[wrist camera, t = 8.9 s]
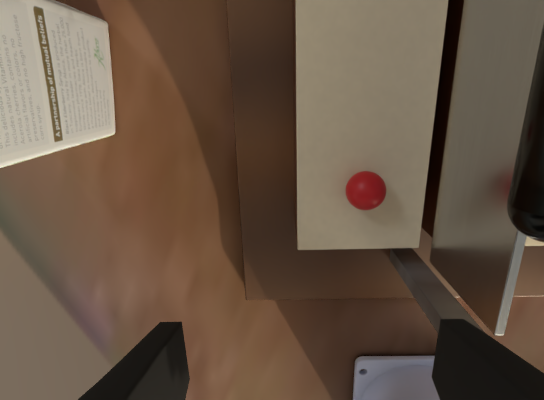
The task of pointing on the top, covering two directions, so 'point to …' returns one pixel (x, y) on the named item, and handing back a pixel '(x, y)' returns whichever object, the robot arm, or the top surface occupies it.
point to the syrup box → (52, 79)
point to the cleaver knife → (492, 156)
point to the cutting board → (280, 191)
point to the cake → (370, 119)
